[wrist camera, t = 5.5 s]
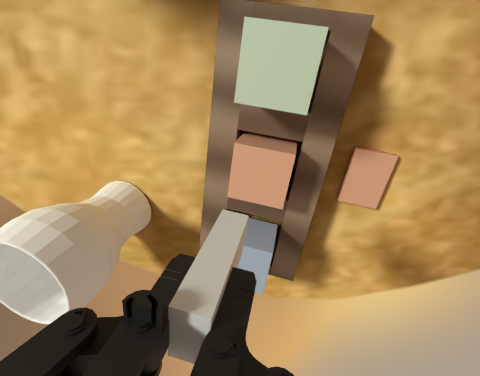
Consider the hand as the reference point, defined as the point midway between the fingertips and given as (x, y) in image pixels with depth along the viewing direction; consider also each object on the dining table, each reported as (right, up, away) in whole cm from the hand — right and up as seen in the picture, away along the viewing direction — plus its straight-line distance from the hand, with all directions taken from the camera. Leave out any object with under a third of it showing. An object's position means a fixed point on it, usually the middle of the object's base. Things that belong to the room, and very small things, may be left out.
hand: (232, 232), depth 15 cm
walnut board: (+4, +6, +14) cm, 15 cm away
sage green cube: (+4, +13, +7) cm, 15 cm away
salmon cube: (+3, +5, +13) cm, 15 cm away
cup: (-15, 0, +21) cm, 26 cm away
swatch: (+14, +4, +12) cm, 19 cm away
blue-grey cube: (+2, -3, +15) cm, 16 cm away
